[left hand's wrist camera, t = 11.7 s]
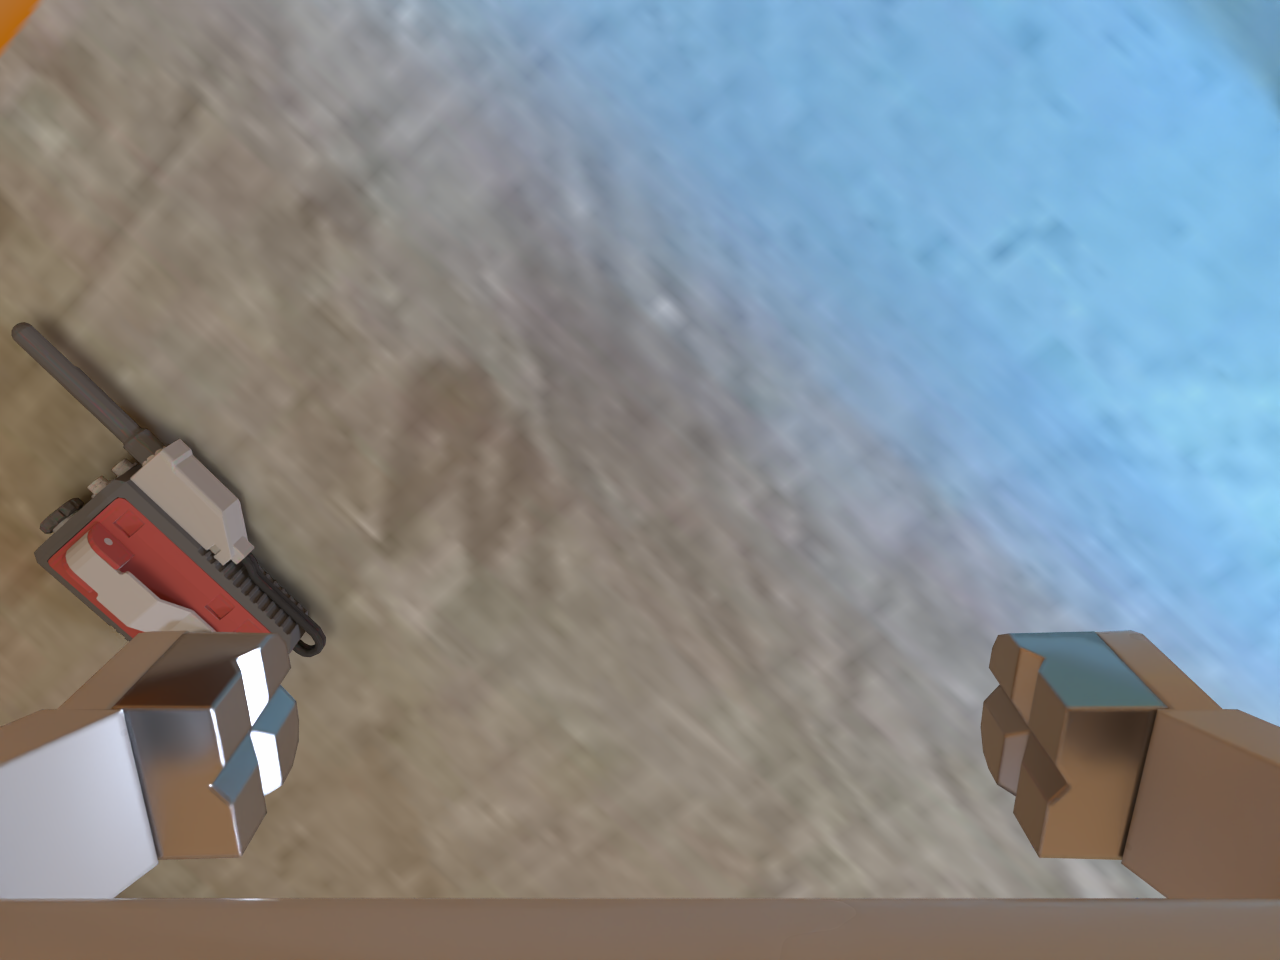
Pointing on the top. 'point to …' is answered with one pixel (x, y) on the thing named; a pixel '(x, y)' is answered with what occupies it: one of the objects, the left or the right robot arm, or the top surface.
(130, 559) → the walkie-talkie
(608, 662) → the top surface
